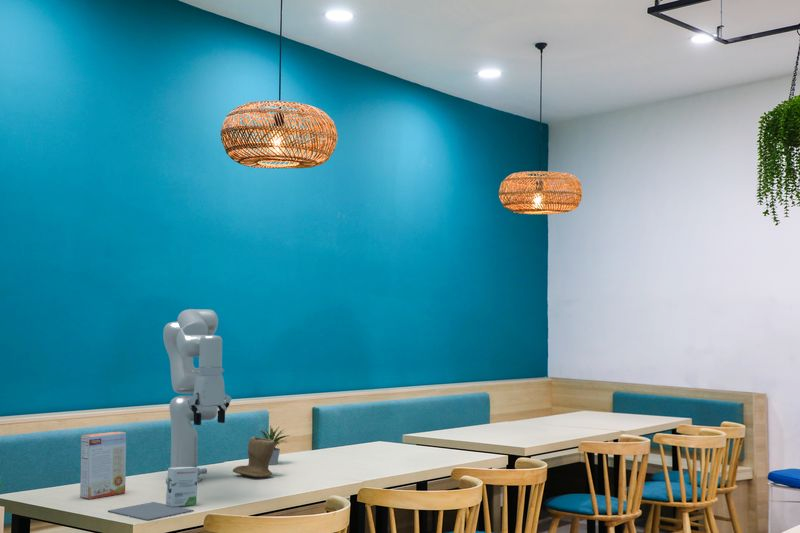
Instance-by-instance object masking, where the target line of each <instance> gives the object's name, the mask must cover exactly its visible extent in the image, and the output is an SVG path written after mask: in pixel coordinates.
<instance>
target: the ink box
mask: <svg viewBox="0 0 800 533" xmlns="http://www.w3.org/2000/svg"><path fill="white" fill-rule="evenodd" d="M198 468H199V467H197V468H196V467H177V468H171V467H168V468H167V477H166V479H167V482H166V495H165V504H166V505H168V506H171V507H183V506H184V507H185V506H195V505H197V496H198V482H197V481H198Z"/></svg>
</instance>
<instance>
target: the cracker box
mask: <svg viewBox="0 0 800 533" xmlns="http://www.w3.org/2000/svg"><path fill="white" fill-rule="evenodd" d="M80 438H81V439H80V483H79V484H80V486H79V488H80V491H79V492H80V494H79V496H80V498H82V499H87V500H92V499H99V498H104V497H109V496H117V495H123V494H126V476H127V475H126V474H127V473H126V472H127V470H126V468H127V467H126V465H127V463H126V462H127V432H124V431H119V430H118V431H110V432H108V431H107V432H99V433H90V434H83V435H81V436H80Z"/></svg>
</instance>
